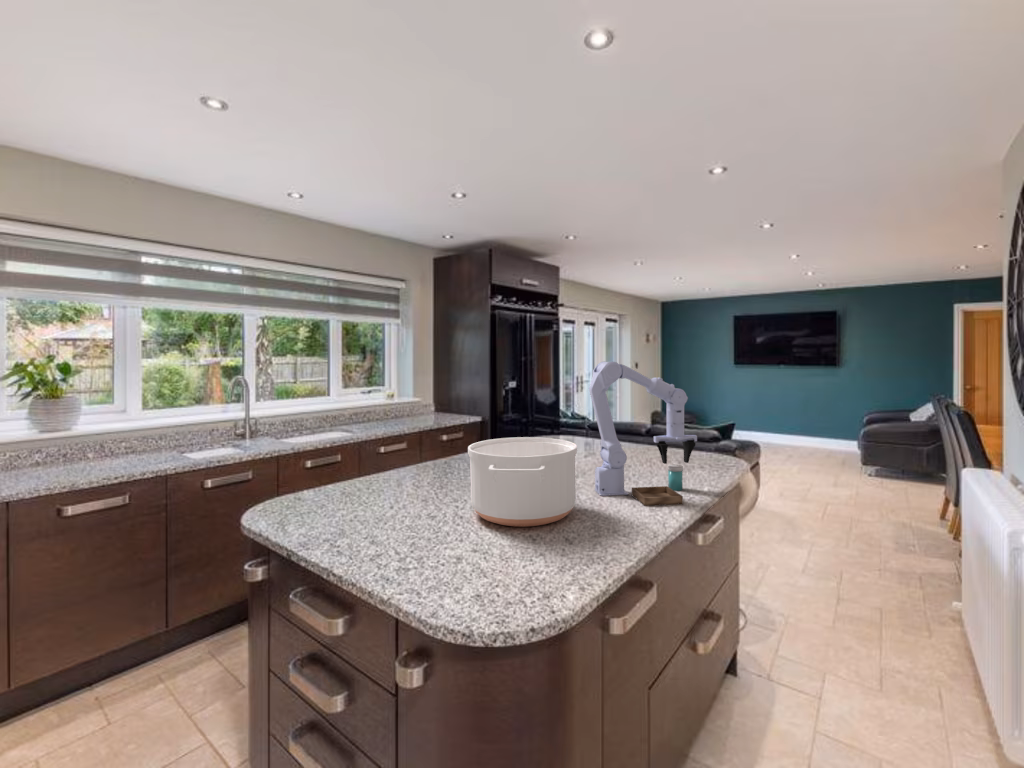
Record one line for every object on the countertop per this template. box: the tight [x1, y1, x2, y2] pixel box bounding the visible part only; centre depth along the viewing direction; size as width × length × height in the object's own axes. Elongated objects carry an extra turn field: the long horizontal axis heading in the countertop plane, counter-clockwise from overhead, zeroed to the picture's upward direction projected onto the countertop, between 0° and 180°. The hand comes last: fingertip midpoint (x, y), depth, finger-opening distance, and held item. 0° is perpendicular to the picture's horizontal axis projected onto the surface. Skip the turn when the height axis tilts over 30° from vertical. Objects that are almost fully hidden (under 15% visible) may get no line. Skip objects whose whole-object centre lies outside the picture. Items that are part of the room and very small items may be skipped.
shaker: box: [667, 464, 684, 492], centre depth 167 cm, size 5×5×8 cm
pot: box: [467, 436, 578, 528], centre depth 143 cm, size 42×32×20 cm
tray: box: [631, 485, 684, 507], centre depth 155 cm, size 12×12×2 cm
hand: (675, 462), depth 167 cm, fingers open, 7 cm apart
